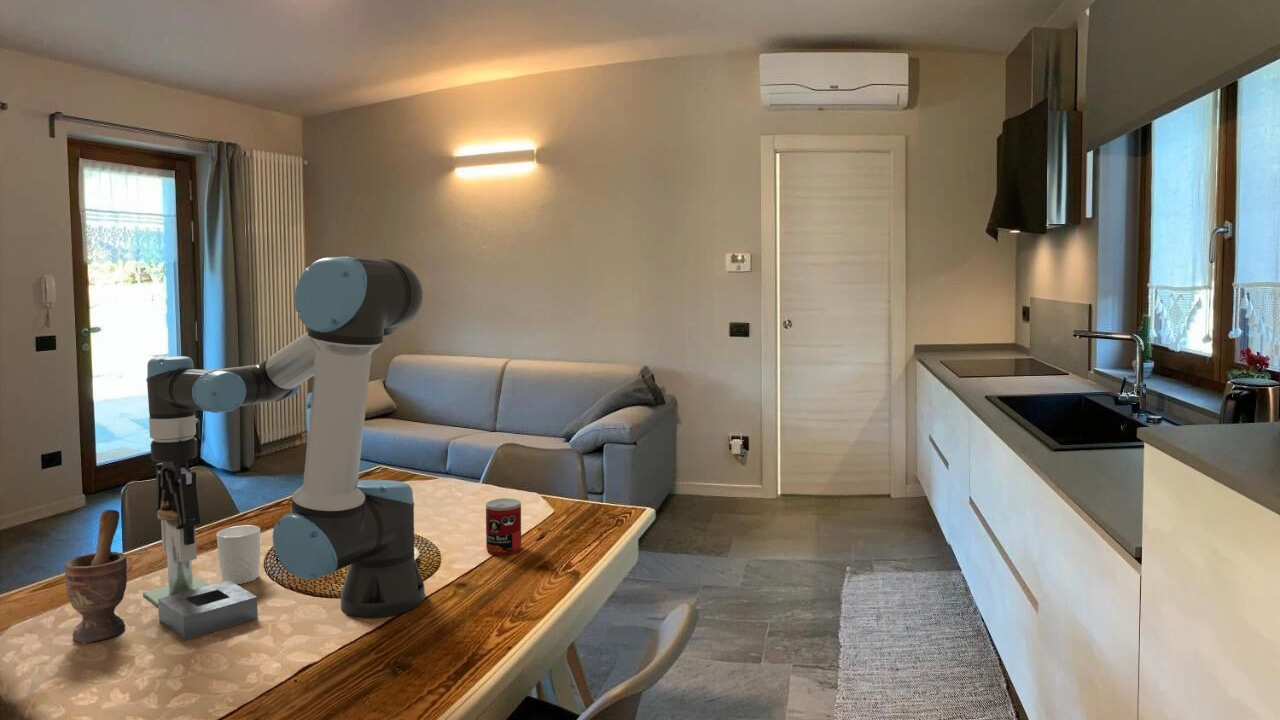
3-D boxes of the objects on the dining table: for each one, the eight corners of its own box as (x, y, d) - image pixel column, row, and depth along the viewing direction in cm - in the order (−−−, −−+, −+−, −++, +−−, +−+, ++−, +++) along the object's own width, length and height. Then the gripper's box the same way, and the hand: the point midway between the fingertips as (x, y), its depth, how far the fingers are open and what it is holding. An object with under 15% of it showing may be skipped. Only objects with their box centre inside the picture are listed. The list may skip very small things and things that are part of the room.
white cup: (244, 587, 154) (242, 538, 154) (209, 584, 156) (207, 535, 155) (270, 573, 162) (268, 526, 161) (237, 570, 164) (235, 524, 163)
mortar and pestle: (71, 623, 138) (64, 512, 136) (129, 612, 142) (124, 505, 140) (67, 649, 128) (60, 530, 126) (130, 636, 133) (124, 521, 131)
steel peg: (206, 584, 154) (202, 496, 153) (190, 597, 148) (185, 505, 146) (172, 585, 154) (168, 496, 152) (154, 598, 147) (149, 505, 146)
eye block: (257, 618, 140) (256, 596, 140) (184, 640, 131) (183, 617, 131) (230, 600, 148) (229, 580, 148) (159, 620, 139) (158, 598, 139)
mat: (219, 593, 151) (219, 590, 151) (161, 609, 144) (161, 606, 144) (199, 580, 158) (199, 577, 158) (143, 595, 150) (142, 592, 150)
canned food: (479, 553, 175) (479, 505, 174) (498, 542, 183) (498, 496, 182) (509, 558, 173) (508, 509, 171) (527, 547, 180) (527, 500, 179)
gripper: (217, 442, 144) (222, 562, 146) (175, 428, 158) (180, 538, 160) (172, 448, 138) (178, 573, 140) (132, 433, 152) (138, 547, 154)
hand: (179, 554), depth 150 cm, fingers open, 8 cm apart
